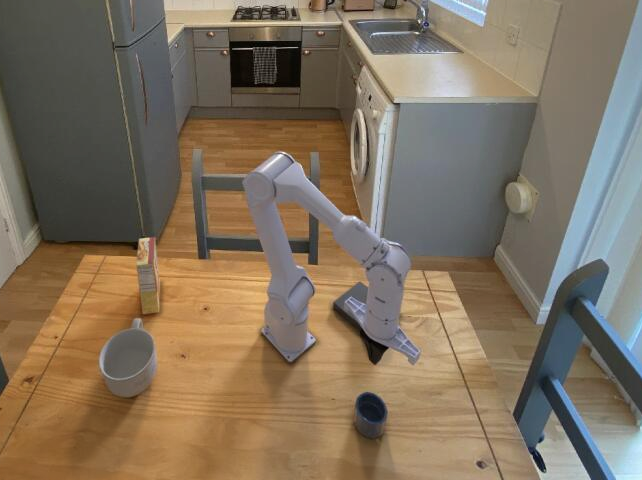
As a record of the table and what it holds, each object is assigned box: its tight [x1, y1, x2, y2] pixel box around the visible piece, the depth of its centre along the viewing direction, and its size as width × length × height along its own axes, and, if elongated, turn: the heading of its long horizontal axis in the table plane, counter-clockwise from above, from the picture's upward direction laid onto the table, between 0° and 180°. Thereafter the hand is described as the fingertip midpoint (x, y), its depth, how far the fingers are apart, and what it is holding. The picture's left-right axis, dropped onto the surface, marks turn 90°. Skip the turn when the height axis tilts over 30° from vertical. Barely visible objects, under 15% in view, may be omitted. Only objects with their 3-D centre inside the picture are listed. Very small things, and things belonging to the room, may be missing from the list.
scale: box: [332, 281, 369, 332], centre depth 97 cm, size 12×11×4 cm
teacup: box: [98, 317, 158, 398], centre depth 85 cm, size 14×11×8 cm
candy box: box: [135, 236, 161, 315], centre depth 100 cm, size 9×4×15 cm, turn 9°
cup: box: [353, 391, 388, 439], centre depth 76 cm, size 5×6×4 cm
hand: (375, 359), depth 79 cm, fingers closed
